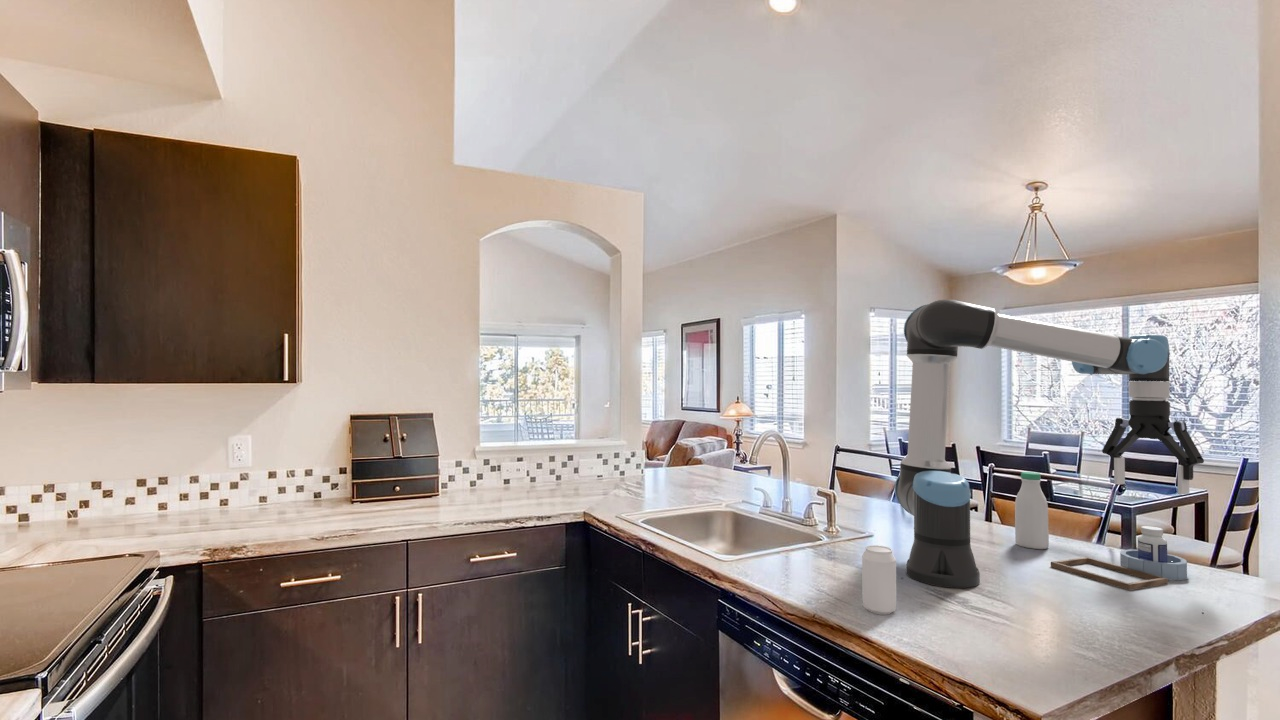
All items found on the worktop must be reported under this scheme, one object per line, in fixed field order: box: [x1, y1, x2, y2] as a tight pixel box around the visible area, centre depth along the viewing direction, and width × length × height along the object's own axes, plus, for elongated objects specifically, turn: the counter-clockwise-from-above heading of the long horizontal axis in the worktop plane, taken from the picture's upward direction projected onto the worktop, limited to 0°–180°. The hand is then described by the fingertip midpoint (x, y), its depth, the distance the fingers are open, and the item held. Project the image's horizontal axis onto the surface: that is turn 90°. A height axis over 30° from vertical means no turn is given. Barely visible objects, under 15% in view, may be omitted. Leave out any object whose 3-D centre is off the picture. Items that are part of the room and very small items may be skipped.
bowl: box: [1119, 548, 1188, 581], centre depth 145 cm, size 12×12×4 cm
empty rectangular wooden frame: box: [1050, 556, 1168, 591], centre depth 143 cm, size 13×18×1 cm
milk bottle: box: [1014, 471, 1050, 550], centre depth 168 cm, size 8×8×20 cm
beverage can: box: [861, 544, 897, 616], centre depth 120 cm, size 6×6×12 cm
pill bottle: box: [1137, 525, 1168, 563], centre depth 145 cm, size 5×5×10 cm
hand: (1150, 488), depth 146 cm, fingers open, 13 cm apart
